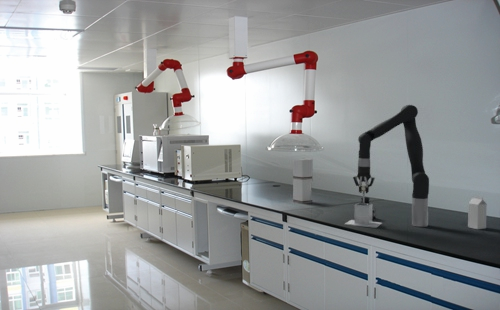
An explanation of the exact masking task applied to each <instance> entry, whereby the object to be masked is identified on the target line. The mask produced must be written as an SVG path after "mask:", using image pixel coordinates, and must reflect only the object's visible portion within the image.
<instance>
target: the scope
mask: <svg viewBox="0 0 500 310" xmlns="http://www.w3.org/2000/svg"><path fill="white" fill-rule="evenodd" d="M360 199H361V201H360V203H363V196H362V197H360ZM364 203H368V204H370V197H366V196H365V199H364ZM376 210H377V208H376V206H375V207H374V208H373V209H372V220H373V219H374V220H375V219H377V218H376V217H377V213H376V212H377V211H376Z"/></svg>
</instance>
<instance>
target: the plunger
mask: <svg viewBox="0 0 500 310" xmlns="http://www.w3.org/2000/svg"><path fill="white" fill-rule="evenodd" d="M361 191H362V197H363V205H364V199H365V197H366V185H363V184H362V186H361Z"/></svg>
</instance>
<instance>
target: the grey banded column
mask: <svg viewBox="0 0 500 310" xmlns="http://www.w3.org/2000/svg"><path fill="white" fill-rule="evenodd" d="M292 161H293V162H292V163H293V164H292V168H293V169H292V172H293V173H292V176H293V177H292V189H293V190H292V202H293V203H297V204H301V205H303V204H311V203H313V199H312V181H313V171H314V169H313V165H314V164H313V159H312V158H302V159H298V158H297V159H296V158H293V159H292Z"/></svg>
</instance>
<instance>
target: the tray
mask: <svg viewBox="0 0 500 310" xmlns="http://www.w3.org/2000/svg"><path fill="white" fill-rule="evenodd" d="M382 224H383V222H378V221H372V223H371V224H370V225H361V224H354V219H350V220H348V221H347V222H345V223H344V225H345V226H355V227H366V228H375V229H377V228H378V227H379V226H381V225H382Z"/></svg>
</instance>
